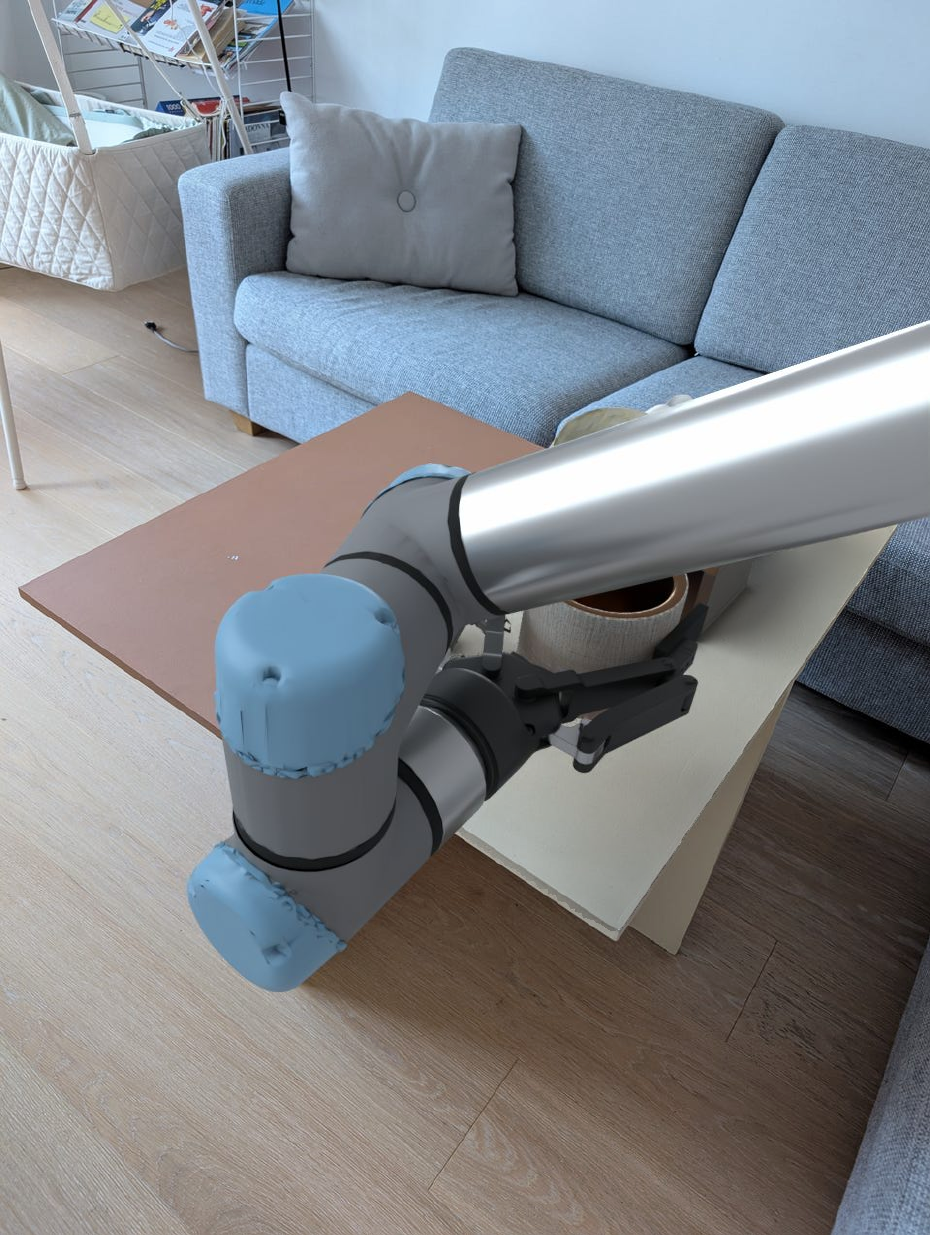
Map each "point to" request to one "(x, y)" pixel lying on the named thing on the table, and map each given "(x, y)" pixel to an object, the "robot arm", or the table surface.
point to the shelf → (716, 588)
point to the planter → (602, 628)
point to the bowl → (595, 422)
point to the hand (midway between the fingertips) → (629, 586)
